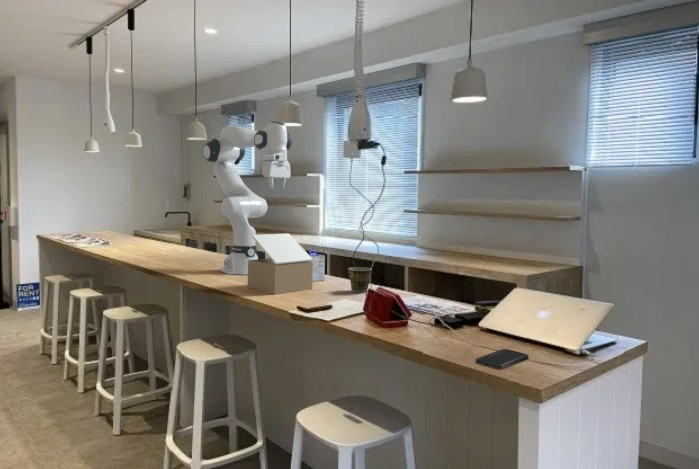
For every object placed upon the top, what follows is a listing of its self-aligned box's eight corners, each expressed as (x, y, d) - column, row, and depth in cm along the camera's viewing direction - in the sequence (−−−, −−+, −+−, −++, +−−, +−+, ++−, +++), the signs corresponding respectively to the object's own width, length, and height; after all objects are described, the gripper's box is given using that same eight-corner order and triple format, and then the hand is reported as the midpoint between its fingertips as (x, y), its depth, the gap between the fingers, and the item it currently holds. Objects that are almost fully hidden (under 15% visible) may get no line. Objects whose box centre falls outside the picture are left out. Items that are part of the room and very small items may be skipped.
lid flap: (252, 236, 234) (252, 235, 234) (288, 234, 247) (288, 233, 247) (275, 264, 222) (276, 262, 222) (312, 260, 236) (312, 259, 236)
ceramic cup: (356, 288, 241) (357, 266, 240) (375, 291, 235) (376, 268, 234) (339, 292, 230) (339, 269, 229) (358, 296, 224) (359, 272, 223)
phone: (530, 355, 146) (500, 366, 136) (530, 359, 146) (500, 370, 136) (504, 348, 152) (473, 358, 141) (503, 352, 152) (473, 363, 141)
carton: (247, 287, 238) (247, 260, 237) (284, 282, 251) (284, 257, 250) (274, 294, 223) (275, 265, 222) (312, 289, 237) (312, 261, 236)
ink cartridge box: (319, 278, 265) (319, 249, 264) (325, 280, 260) (325, 250, 259) (301, 280, 259) (302, 250, 258) (307, 282, 255) (308, 251, 253)
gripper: (282, 158, 258) (281, 188, 259) (259, 155, 239) (259, 187, 240) (294, 158, 255) (293, 188, 256) (272, 155, 236) (272, 187, 238)
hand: (277, 187), depth 248 cm, fingers open, 8 cm apart
